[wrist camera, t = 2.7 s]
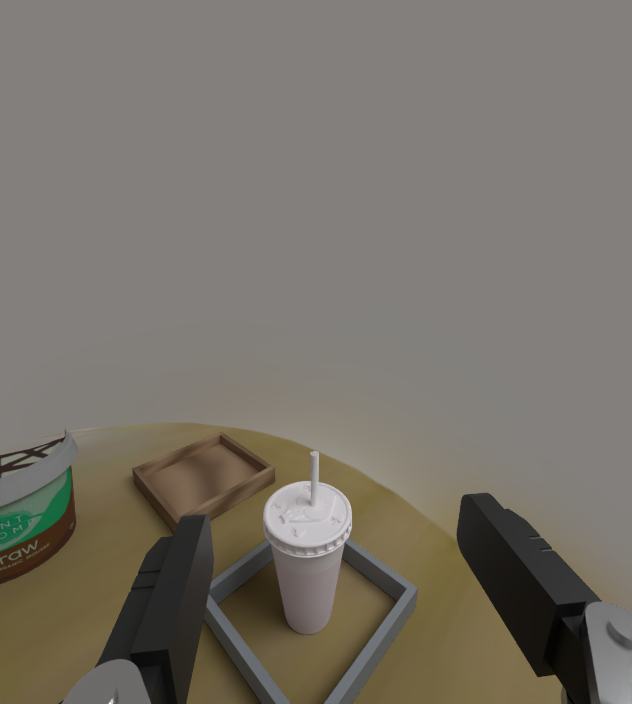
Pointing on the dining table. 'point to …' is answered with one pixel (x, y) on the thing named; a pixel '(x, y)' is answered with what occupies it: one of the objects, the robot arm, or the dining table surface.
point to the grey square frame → (367, 659)
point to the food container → (35, 505)
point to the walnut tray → (202, 479)
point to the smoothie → (307, 547)
